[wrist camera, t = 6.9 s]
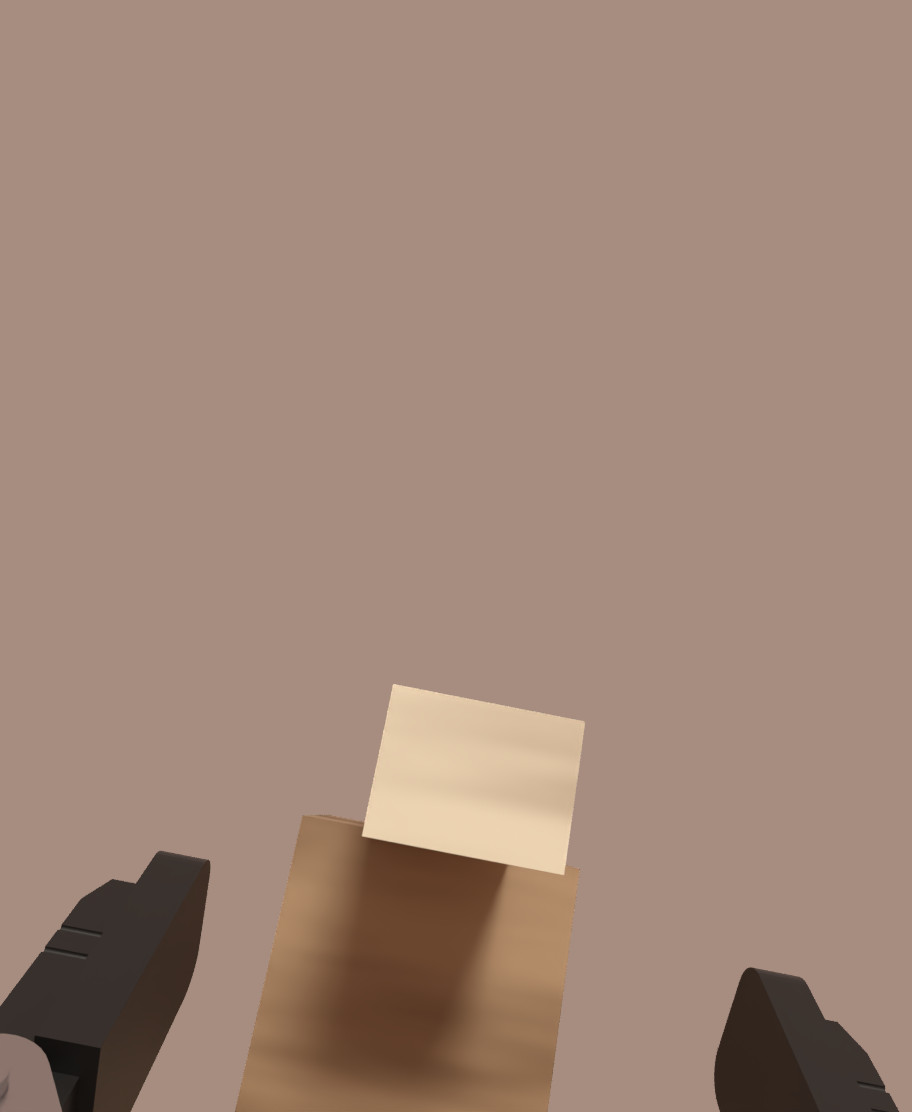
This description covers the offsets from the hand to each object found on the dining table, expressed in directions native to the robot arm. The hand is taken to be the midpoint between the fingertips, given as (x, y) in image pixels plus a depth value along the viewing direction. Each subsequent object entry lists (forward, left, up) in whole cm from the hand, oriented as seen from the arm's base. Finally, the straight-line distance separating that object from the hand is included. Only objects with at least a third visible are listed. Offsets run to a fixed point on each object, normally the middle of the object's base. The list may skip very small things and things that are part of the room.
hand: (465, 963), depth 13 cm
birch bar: (-10, +10, +1) cm, 14 cm away
